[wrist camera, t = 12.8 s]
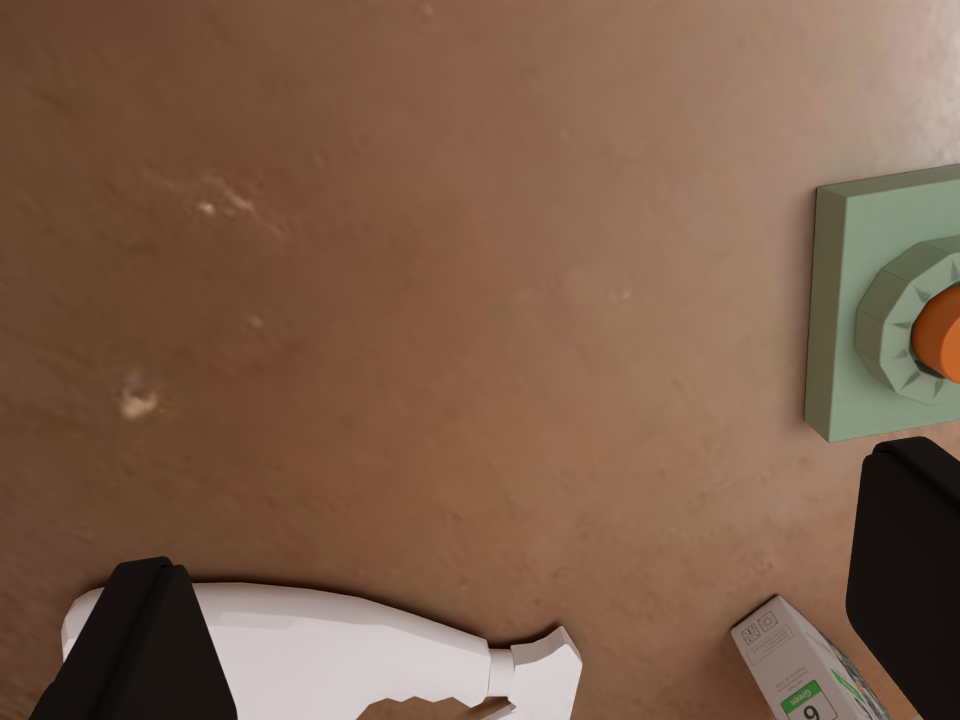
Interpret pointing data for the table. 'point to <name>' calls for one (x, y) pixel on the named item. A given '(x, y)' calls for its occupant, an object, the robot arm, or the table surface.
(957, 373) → the push button switch
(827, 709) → the ink box
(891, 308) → the green button plate
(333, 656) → the spray bottle
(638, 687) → the table surface
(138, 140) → the table surface
